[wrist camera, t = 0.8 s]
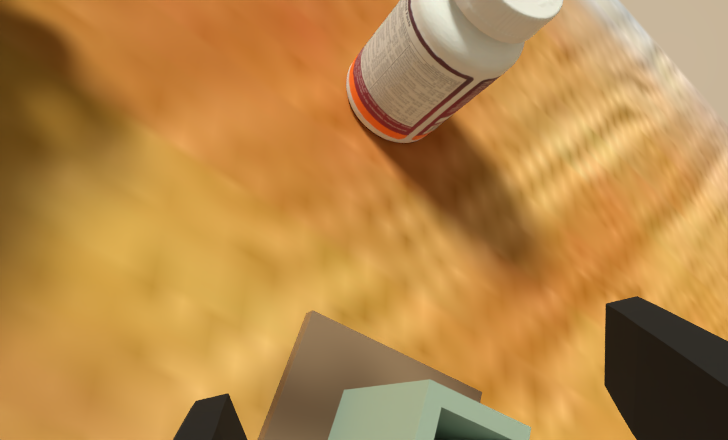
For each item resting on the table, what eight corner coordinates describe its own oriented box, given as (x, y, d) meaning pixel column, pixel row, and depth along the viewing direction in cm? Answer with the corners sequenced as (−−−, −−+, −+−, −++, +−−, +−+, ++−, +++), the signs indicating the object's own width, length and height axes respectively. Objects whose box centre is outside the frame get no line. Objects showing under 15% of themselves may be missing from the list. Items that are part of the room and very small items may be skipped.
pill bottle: (424, 63, 35) (557, -72, 25) (439, 151, 33) (588, 41, 23) (336, 46, 32) (449, -115, 22) (348, 141, 30) (476, 11, 20)
